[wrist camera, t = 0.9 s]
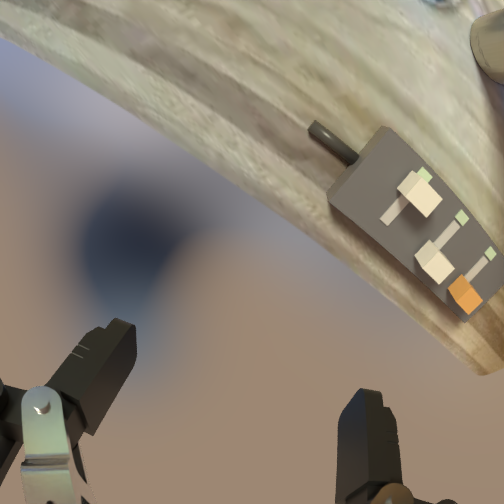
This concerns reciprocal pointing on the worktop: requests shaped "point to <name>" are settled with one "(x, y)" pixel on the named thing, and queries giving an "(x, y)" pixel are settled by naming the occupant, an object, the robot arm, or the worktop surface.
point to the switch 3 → (465, 294)
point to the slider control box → (412, 215)
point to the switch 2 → (434, 262)
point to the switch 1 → (419, 193)
